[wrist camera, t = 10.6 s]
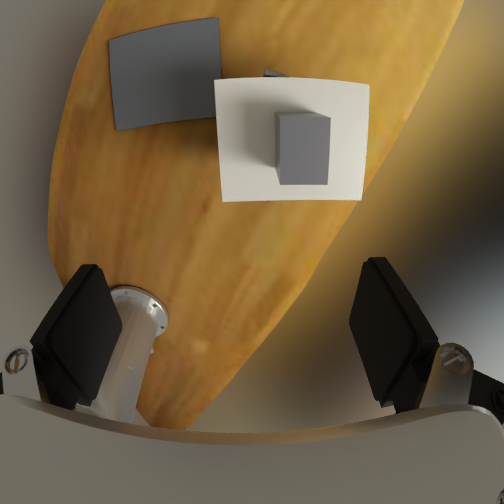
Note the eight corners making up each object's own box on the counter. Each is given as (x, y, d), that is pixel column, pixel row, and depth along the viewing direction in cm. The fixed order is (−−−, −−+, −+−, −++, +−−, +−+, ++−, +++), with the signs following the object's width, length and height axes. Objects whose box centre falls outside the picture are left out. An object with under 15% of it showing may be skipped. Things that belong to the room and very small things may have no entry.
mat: (223, 116, 31) (223, 116, 30) (118, 130, 31) (116, 131, 30) (218, 18, 24) (218, 17, 23) (111, 40, 24) (109, 40, 23)
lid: (357, 196, 26) (379, 221, 21) (223, 197, 26) (217, 224, 21) (365, 84, 20) (393, 85, 15) (215, 80, 20) (205, 77, 15)
